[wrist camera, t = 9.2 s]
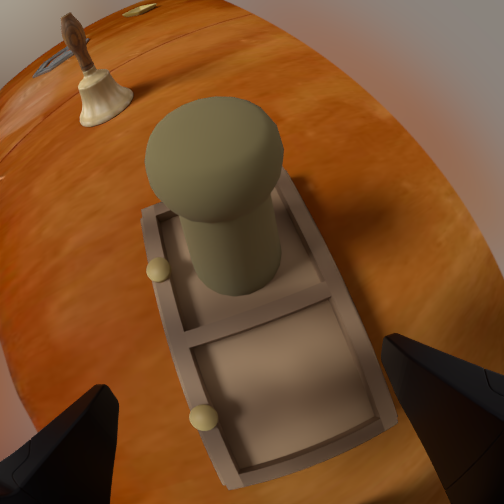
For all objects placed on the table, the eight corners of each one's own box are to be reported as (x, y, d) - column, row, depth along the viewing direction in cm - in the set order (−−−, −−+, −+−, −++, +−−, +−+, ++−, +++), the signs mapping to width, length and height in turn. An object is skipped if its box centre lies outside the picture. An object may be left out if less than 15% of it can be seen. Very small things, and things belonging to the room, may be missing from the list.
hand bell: (145, 89, 30) (113, -8, 15) (107, 128, 27) (56, 23, 12) (105, 90, 31) (71, 9, 16) (70, 126, 28) (22, 42, 13)
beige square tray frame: (140, 10, 57) (139, 6, 55) (158, 7, 55) (157, 3, 53) (122, 19, 54) (121, 15, 52) (139, 16, 52) (138, 11, 50)
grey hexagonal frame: (92, 35, 51) (92, 33, 50) (77, 56, 43) (76, 54, 42) (48, 59, 50) (47, 57, 49) (27, 86, 42) (26, 84, 41)
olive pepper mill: (265, 204, 20) (264, 67, 10) (294, 280, 17) (332, 163, 7) (184, 227, 19) (124, 104, 9) (203, 307, 17) (121, 221, 7)
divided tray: (390, 414, 14) (407, 419, 12) (225, 478, 13) (219, 494, 11) (285, 178, 22) (286, 158, 20) (146, 225, 21) (133, 209, 18)
